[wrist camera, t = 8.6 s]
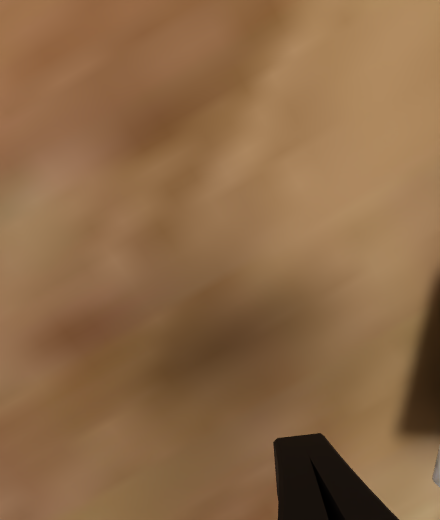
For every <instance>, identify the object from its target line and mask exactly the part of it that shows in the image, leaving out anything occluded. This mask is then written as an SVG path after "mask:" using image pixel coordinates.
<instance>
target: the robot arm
mask: <svg viewBox="0 0 440 520" xmlns="http://www.w3.org/2000/svg"><path fill="white" fill-rule="evenodd" d="M273 444H274V457H275V469H276V482H277V495H278V501H279V504H278V520H399V519H398V518H397V517H396V516H395V515H394V514H393V513H392V512H391V511H390V510H389V509H388V508H387V507H386V506H385V505H384V504H383V503H382V501H381V500H380V499H379V498H378V497H377V496H376V495H375V494H374V493H373V492H372V491H371V490H370V489H369V488H368V487H367V486H366V484H365V483H364V482H363V481H362V480H361V479H360V478H359V477H358V476H357V474H356V473H355V472H354V471H353V470H352V469H351V468H350V466H349V465H348V464H347V463H346V462H345V461H344V460H343V458H342V457H341V456H340V455H339V454H338V452H337V451H336V450H335V449H334V448H333V446H332V445H331V444H330V443H329V441H328V440H327V439H326V438H325V436H323V435H322V434H321V433H318V434H310V435H301V436H293V437H284V438H277V439H276V440H275V441H274V442H273Z"/></svg>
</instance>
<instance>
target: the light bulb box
mask: <svg viewBox="0 0 440 520" xmlns="http://www.w3.org/2000/svg"><path fill="white" fill-rule="evenodd" d="M432 479H433V481H434V482H435V483H436V484H437V485H438V486H439V487H440V446H439V450H438V455H437V459H436V464H435V468H434V473H433V478H432Z"/></svg>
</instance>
